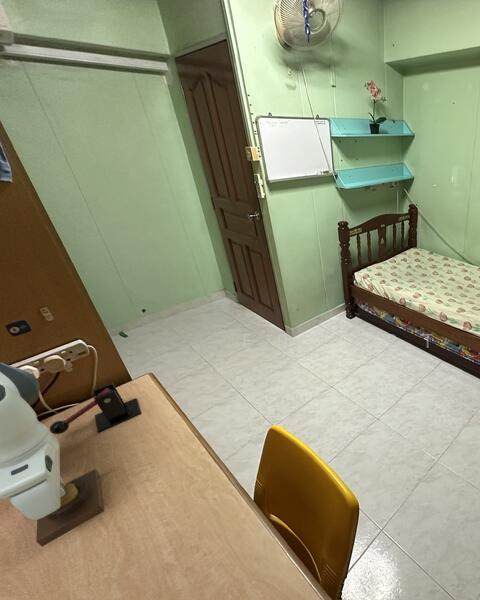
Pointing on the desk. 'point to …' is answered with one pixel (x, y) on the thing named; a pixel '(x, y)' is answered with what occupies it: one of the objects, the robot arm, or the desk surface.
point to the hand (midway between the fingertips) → (60, 492)
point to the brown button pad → (73, 509)
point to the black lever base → (113, 408)
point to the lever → (73, 417)
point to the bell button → (69, 494)
